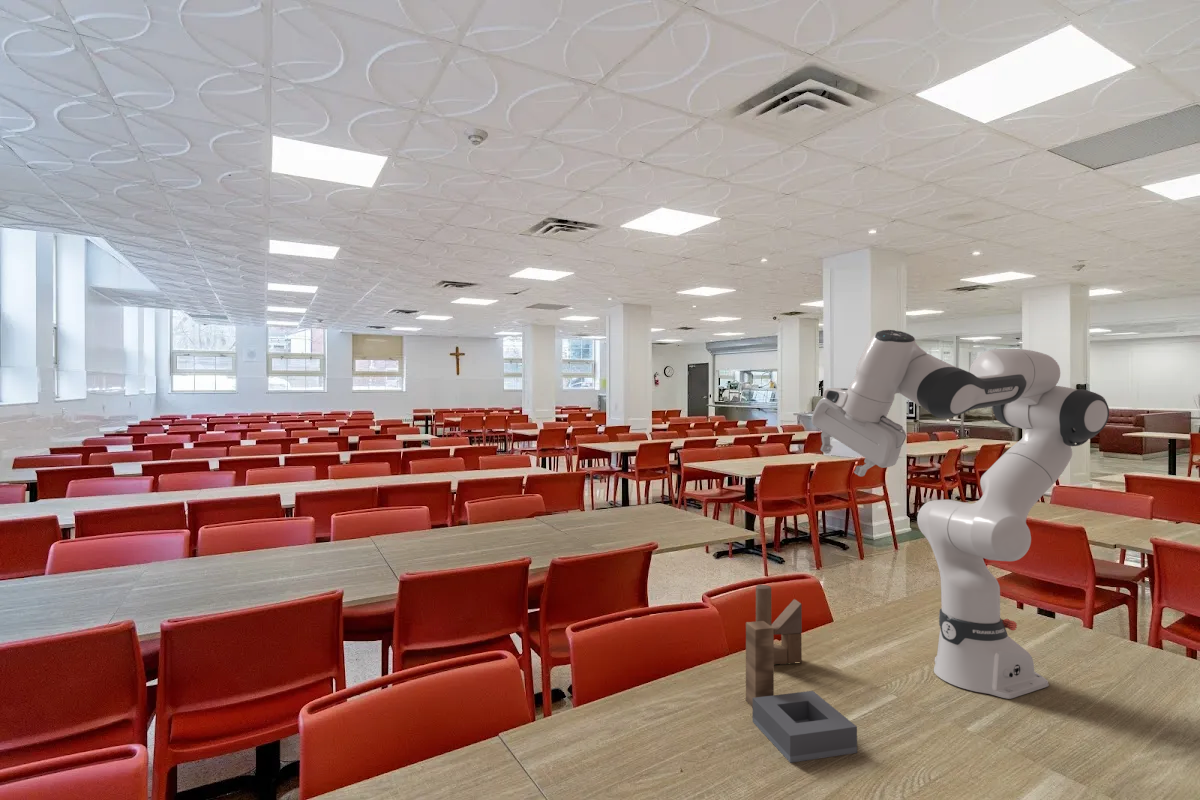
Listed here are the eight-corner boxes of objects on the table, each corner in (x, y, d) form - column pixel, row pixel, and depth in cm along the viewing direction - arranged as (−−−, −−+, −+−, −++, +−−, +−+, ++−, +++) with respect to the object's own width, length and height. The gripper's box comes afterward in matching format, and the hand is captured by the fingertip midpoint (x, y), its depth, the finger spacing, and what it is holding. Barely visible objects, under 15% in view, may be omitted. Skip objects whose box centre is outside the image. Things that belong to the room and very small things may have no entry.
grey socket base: (812, 713, 111) (812, 690, 111) (857, 752, 98) (856, 726, 98) (752, 721, 108) (752, 697, 108) (790, 762, 95) (790, 735, 95)
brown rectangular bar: (763, 698, 117) (763, 620, 117) (773, 708, 113) (773, 628, 113) (745, 700, 116) (745, 622, 116) (755, 710, 112) (755, 629, 112)
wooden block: (802, 663, 133) (802, 587, 133) (759, 666, 131) (759, 589, 132) (794, 657, 137) (794, 582, 137) (752, 660, 135) (752, 584, 135)
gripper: (918, 429, 111) (891, 488, 116) (837, 385, 126) (816, 439, 132) (899, 430, 107) (871, 491, 113) (818, 386, 123) (797, 441, 129)
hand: (841, 462), depth 123 cm, fingers open, 8 cm apart
